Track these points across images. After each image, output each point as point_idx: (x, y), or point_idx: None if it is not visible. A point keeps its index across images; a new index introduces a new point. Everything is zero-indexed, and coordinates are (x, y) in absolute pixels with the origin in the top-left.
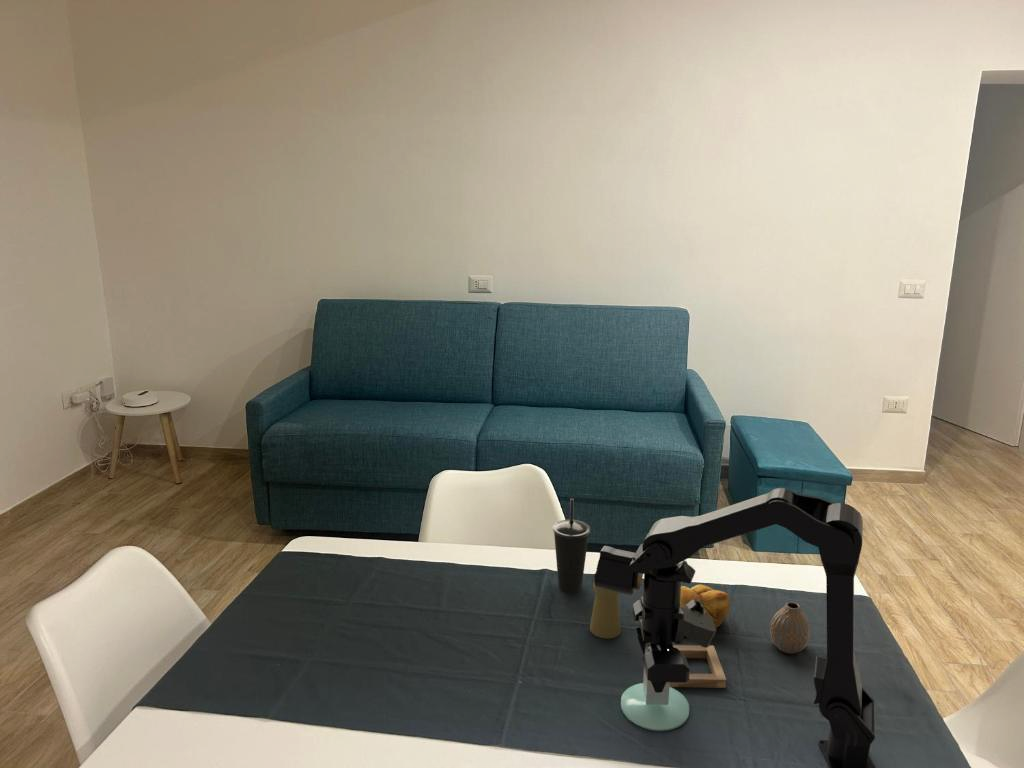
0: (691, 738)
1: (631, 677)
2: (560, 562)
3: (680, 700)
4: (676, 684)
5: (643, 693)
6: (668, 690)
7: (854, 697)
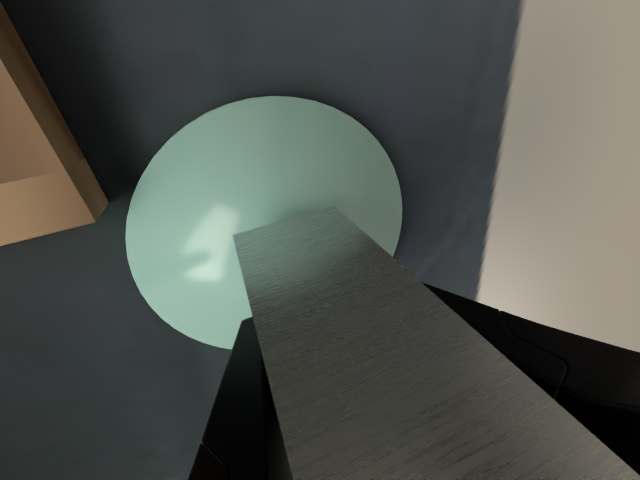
0: (426, 90)
1: (116, 352)
2: None
3: (229, 142)
4: (85, 169)
5: (230, 296)
6: (372, 242)
7: None
